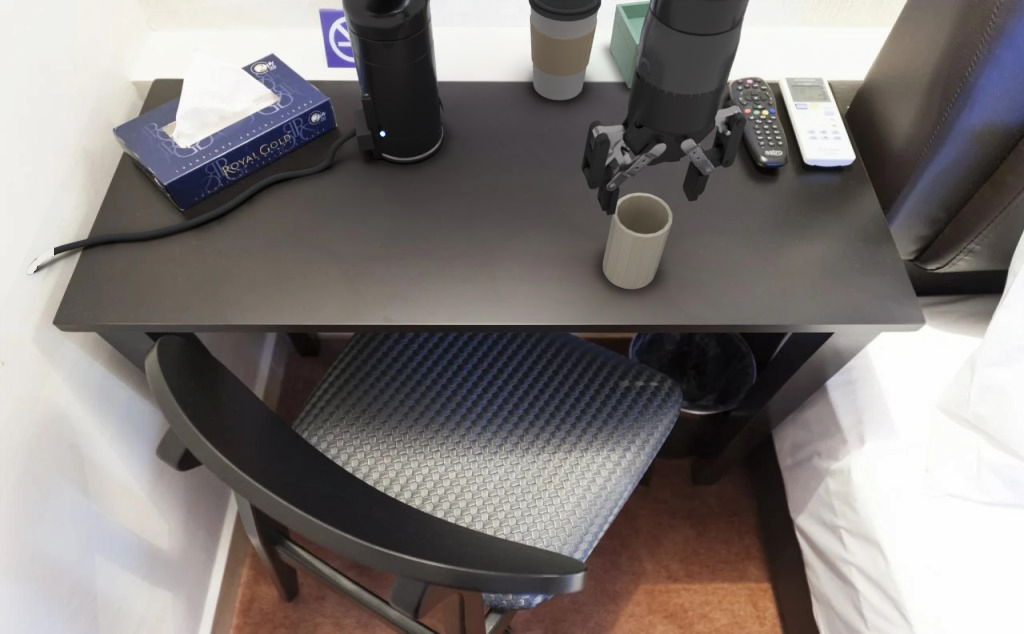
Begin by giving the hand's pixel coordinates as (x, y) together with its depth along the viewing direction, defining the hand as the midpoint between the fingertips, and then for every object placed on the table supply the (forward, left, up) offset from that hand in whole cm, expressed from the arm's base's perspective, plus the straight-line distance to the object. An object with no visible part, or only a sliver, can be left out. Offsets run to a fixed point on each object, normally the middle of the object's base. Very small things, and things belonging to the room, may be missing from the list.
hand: (648, 202), depth 67 cm
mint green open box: (+14, +35, -11) cm, 39 cm away
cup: (0, 0, -11) cm, 11 cm away
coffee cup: (0, +33, -11) cm, 35 cm away
